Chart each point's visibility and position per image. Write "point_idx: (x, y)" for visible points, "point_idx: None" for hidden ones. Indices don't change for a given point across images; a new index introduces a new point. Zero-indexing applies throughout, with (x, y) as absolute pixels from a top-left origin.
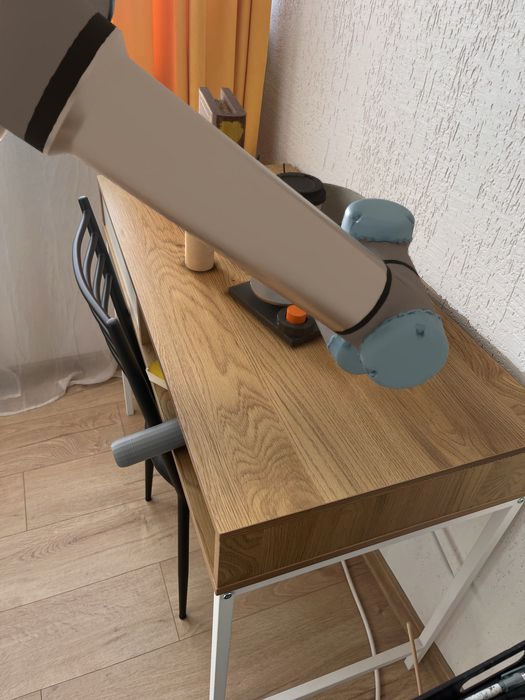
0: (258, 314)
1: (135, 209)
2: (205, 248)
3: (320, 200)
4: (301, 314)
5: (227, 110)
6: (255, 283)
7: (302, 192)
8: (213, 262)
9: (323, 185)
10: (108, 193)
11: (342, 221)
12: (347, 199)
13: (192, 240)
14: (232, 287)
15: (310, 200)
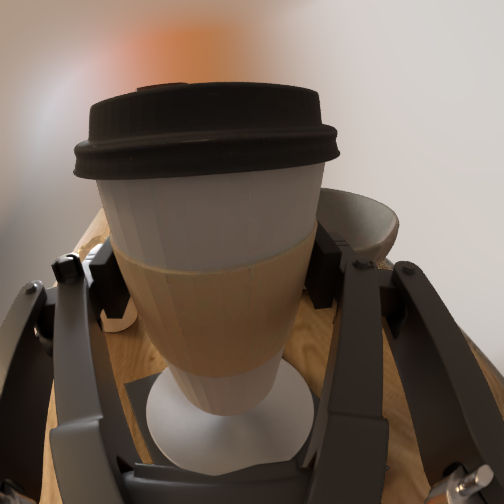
0: None
1: (102, 233)
2: None
3: (310, 140)
4: None
5: None
6: (159, 397)
7: (175, 86)
8: (132, 317)
9: (324, 191)
10: (94, 219)
11: (355, 240)
12: (359, 209)
13: None
14: (131, 384)
15: (236, 131)
